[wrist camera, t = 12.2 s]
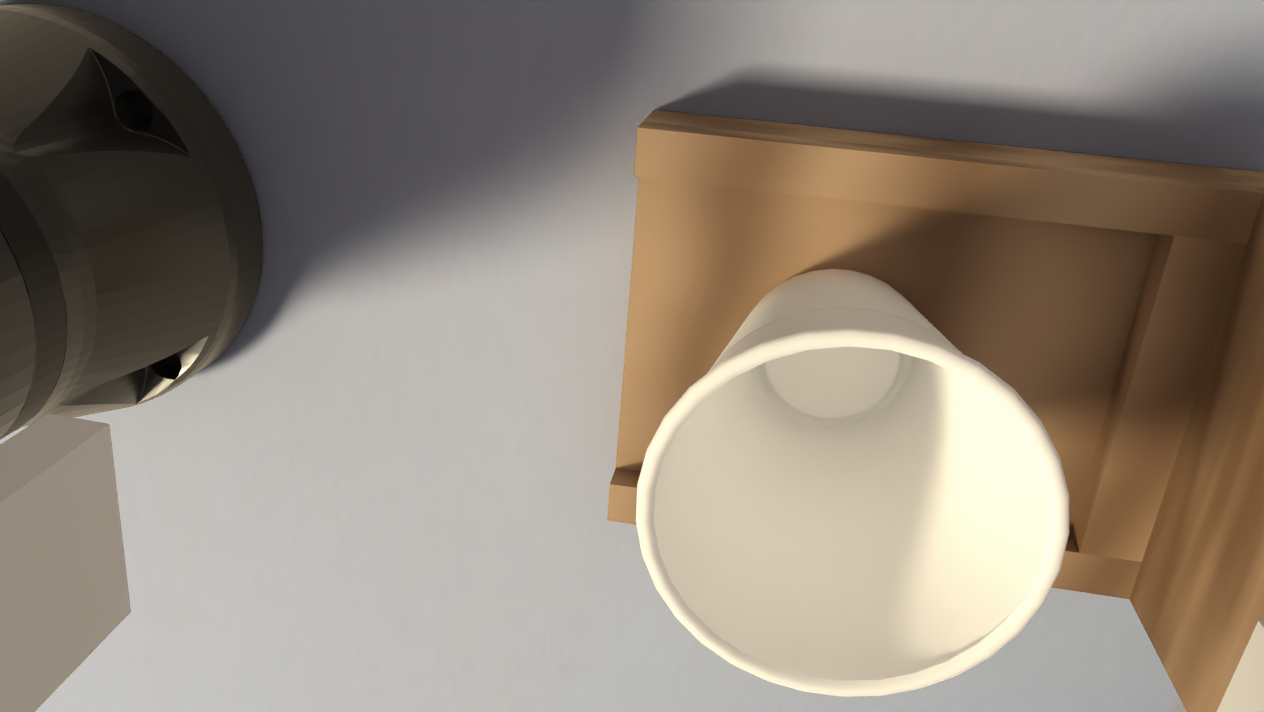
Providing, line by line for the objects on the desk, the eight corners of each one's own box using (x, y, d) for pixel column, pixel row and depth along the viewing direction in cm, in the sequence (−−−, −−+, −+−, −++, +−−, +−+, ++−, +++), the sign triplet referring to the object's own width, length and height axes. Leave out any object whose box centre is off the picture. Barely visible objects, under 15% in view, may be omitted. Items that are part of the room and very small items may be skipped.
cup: (1027, 427, 33) (1129, 637, 23) (753, 518, 36) (735, 739, 26) (922, 156, 30) (985, 258, 20) (634, 279, 33) (563, 421, 23)
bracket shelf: (624, 470, 39) (570, 630, 30) (653, 109, 33) (599, 169, 24) (1141, 545, 36) (1255, 743, 27) (1263, 171, 31) (1457, 263, 22)
